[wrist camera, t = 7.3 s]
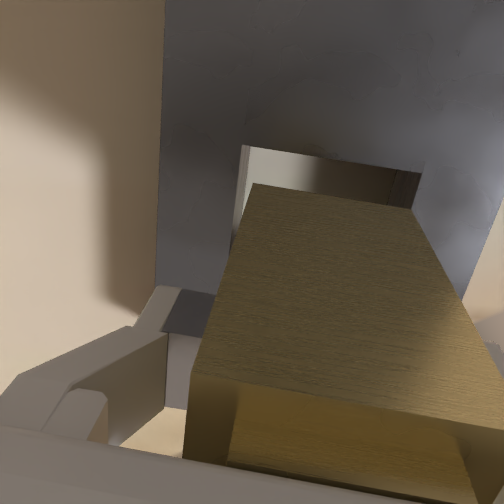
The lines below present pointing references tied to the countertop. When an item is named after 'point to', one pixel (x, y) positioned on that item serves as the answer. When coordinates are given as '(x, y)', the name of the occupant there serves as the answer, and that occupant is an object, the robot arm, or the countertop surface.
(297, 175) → the countertop surface
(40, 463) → the robot arm
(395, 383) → the wooden post chunk
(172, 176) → the grey peg hole board
